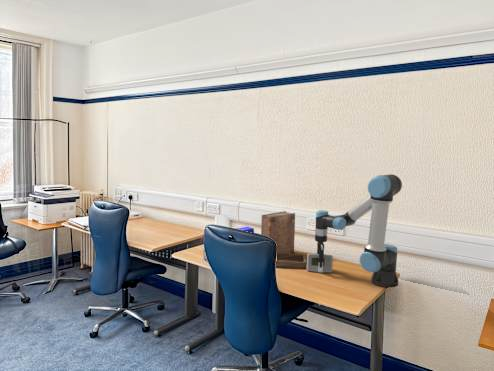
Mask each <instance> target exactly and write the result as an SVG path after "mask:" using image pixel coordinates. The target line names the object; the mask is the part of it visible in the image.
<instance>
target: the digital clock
mask: <svg viewBox="0 0 494 371" xmlns="http://www.w3.org/2000/svg"><path fill="white" fill-rule="evenodd" d="M333 257H334V256H333V255H332V254H325V253H324V262H323V272H320V273H323V274H327V273H330V274H331V273H332V272H333V261H334V260H333V259H334V258H333ZM318 261H319V254H317V253H307V256H306V271H307V272H312V273H319V272H318V263H319V262H318Z"/></svg>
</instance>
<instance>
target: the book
mask: <svg viewBox="0 0 494 371" xmlns="http://www.w3.org/2000/svg"><path fill="white" fill-rule="evenodd" d="M260 223H261V225H260V226H261V230H260V232H261V233H260V234H261V235H264V236H267V237H270V238H272V239H273V240H274V241H275V242H276V244H277V254H295V237H296V236H295V233H296V232H295V231H296V229H295V228H296V227H295V226H296V213H295V212H287V211H285V210H284V211H277V212H274V213H268V214H267V213H266V214H261V222H260ZM261 235H260V236H261Z"/></svg>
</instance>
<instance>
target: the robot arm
mask: <svg viewBox="0 0 494 371" xmlns="http://www.w3.org/2000/svg"><path fill="white" fill-rule="evenodd" d="M402 188H403V183H402V180H401V178H400V177H399V176H398V175H395V174H391V173H390V174H380V175H376V176H373V177H372V178H371V179H370V180H369V182H368V183H367V191H368V193H369V194H368V196H366V197H365V198H364V199H362V200H360V201H359V202H358V203H357V204H356V205H354V206H353V207H351V208H350V209H349V210H347V212H346V213H344V214H340V215H330V214H329V211H328V210H324V209H320V210H317V211H315V212H316V213H315V229H314V230H313V231H314V233H315V235H314V241H315V242H316V244H317V246H316V247H317V248H316V254H319V261H318V262H319V263H318V272H317V273H321V272H323V262H324V254H325V244H324V243H326V242H328V230H329V228H330V229H334V230H339V231H342V230H344V229H345V228H346V227H348V226H353V225H355V224H356V222H357V221H358V220H359V219H361V218H362V217H363V216H364V215H366V214H368V213H369V212H371V213H370V214H371V215H370V224H369V232H368V239H367V240H368V241H367V243H366V244H365V245H364V248H363V249H364V250H363V252H362V253H360V256H359V264H360V266H361V267H362V269H363V270H364V271H366V272H368V273H371V274H372V275H371V277H370V282H371V283H372V284H373V285H375V286H378V287H383V288H396V287H398V286H399V278H398V275H397V259H398V248H397V246H395V245H392V244H390V243H389V244H388V243H385V241H386V232H387V224H388V215H389V210H390V204H392V202H393V200H394V196H396V195H397V194H399V192H401V190H402Z"/></svg>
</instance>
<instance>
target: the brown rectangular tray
mask: <svg viewBox="0 0 494 371" xmlns="http://www.w3.org/2000/svg"><path fill="white" fill-rule="evenodd" d="M279 267H280V269H281V268H282V269H283V268H284V269H304V270H307V258H306V256H305V254H300V253H299V254H297V253H296V254H295V253H292V254H277V261H276V267H275V268H279Z"/></svg>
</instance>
